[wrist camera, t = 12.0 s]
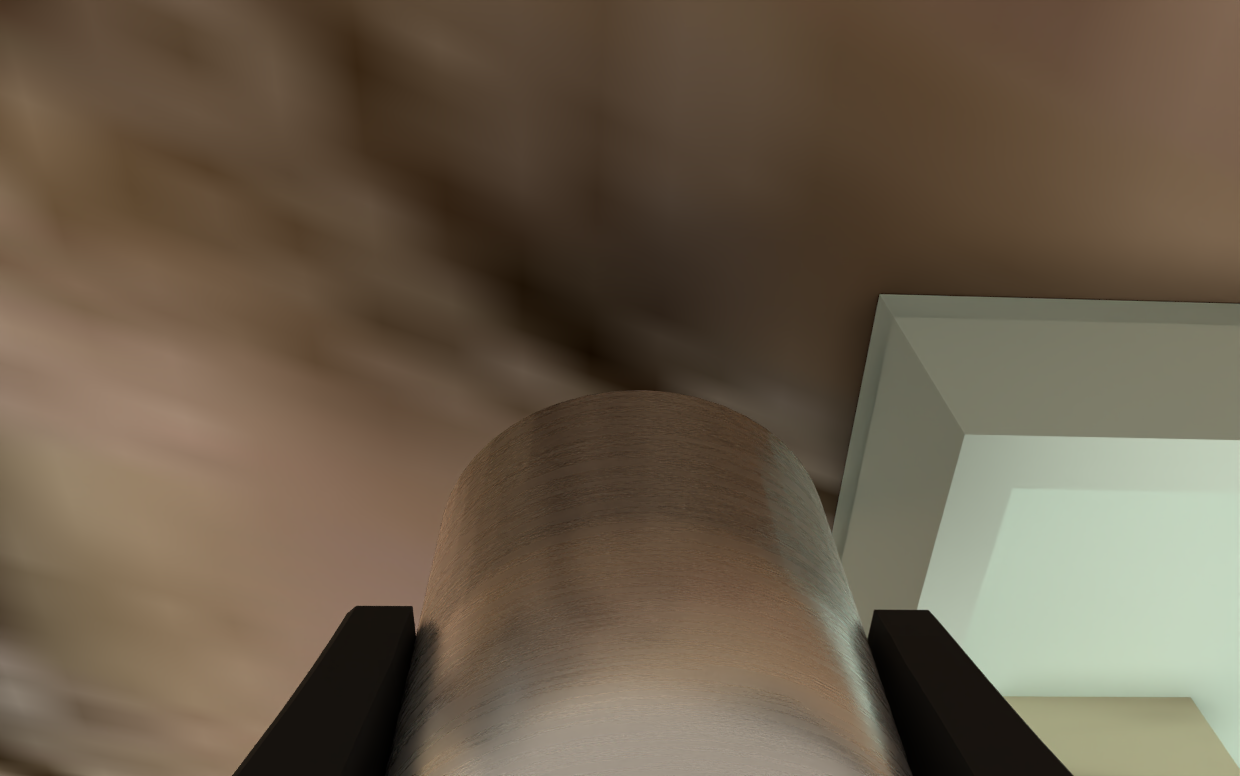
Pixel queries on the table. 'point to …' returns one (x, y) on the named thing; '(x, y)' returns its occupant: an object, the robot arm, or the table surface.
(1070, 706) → the maple block
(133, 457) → the table surface
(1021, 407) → the tote
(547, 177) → the table surface
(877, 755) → the metal cylinder
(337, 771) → the robot arm
